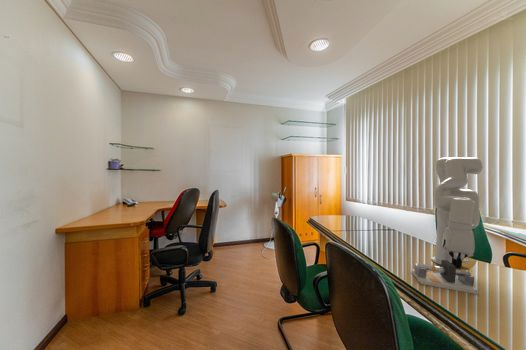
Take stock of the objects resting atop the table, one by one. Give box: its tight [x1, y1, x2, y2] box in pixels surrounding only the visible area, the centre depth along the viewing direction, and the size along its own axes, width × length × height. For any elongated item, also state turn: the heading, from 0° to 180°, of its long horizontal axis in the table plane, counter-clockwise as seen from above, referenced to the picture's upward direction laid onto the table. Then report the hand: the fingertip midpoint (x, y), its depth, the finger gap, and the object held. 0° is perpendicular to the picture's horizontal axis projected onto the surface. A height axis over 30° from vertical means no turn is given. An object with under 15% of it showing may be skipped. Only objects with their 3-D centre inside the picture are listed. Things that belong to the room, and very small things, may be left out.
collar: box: [439, 260, 457, 283], centre depth 97 cm, size 2×7×7 cm, turn 163°
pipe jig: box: [411, 262, 479, 295], centre depth 98 cm, size 20×12×7 cm, turn 73°
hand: (456, 267), depth 96 cm, fingers closed
